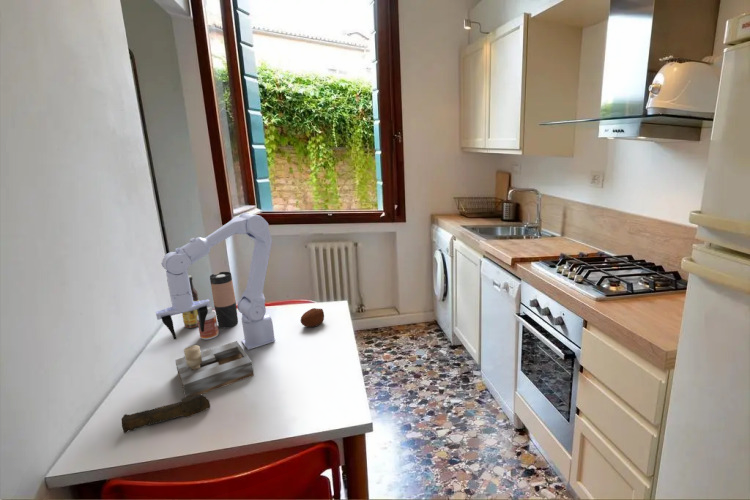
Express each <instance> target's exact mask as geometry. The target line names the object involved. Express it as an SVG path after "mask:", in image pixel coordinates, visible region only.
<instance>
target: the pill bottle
mask: <svg viewBox="0 0 750 500" xmlns="http://www.w3.org/2000/svg"><path fill="white" fill-rule="evenodd" d="M207 309H208V313H207V316H206V319H205V324H204V331H203V332H202V331H201V330H200V323H199V316H198V315H197V322H198V326H197V327H198V332H199V336H200V337H199V338H201V339H202V340H207V341H208V340H211V339H214V338H217V337H218V336H219V326H218V321H217V316H216V311H213V307H212V305H211V307H207Z"/></svg>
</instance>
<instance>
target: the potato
mask: <svg viewBox="0 0 750 500" xmlns="http://www.w3.org/2000/svg"><path fill="white" fill-rule="evenodd" d="M324 313H325V312H324V310H323V308H316V307H315V308H314V307H313V308H311V309H308V310H307V311H305V312H304V313H303V314H302V316H301V317H300V323H301V325H302V326H304V327H306V328H310V327H312V328H313V327H317V326H320V325H321V324H322V323H323V322H324V320H325V314H324Z"/></svg>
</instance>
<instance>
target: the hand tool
mask: <svg viewBox="0 0 750 500" xmlns="http://www.w3.org/2000/svg"><path fill="white" fill-rule="evenodd" d="M210 408H211V403H210V400H209V399H208V397H207V396H205V395H203V394H197V395H193V396H187V397H185V396H184V397H183V398H181V400H180V401H178V402H175V403H171V404H166V405H163V406H159V407H155V408H151V409H147V410H143V411H138V412H135V413H131V414H127V413H126V414H123V416H122V417H121V428H122V429H121V430H122V431H123V433H124V434H126V433H128V432H130V431H131V432H134V431H135V430H136V429H139V428H143V427H146V426H149V425H153V424H158V423H160V422H164V421H168V420H171V419H175V418H180V417H185V418H189V417H192V416H194V415H197V414H200V413H202V412H204V411H206V410H208V409H210Z"/></svg>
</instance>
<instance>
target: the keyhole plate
mask: <svg viewBox="0 0 750 500" xmlns="http://www.w3.org/2000/svg"><path fill="white" fill-rule="evenodd" d="M200 352H201V357H202V363H201V364H200V368H198V369H195V370H191V367H188V366H187V363H186V358H185V356H183V357H180V358H177V359H175V366H176V370H177V375H178V378H179V380H180V383H181V384H180V385H181V387H182V390H183V392H184V393H185V394H184V397H185V396H186V397H187V396H193V395H197V394H201V395H203V393H204V394H206V393H209V392H213V391H214V390H218V389H220V388H223V387H225V386H226V387H227V386H228V385H231V384H233V383H237V382H239V381H242V380H245V379H249V378H251V377H253V376H254V375H255V374H254V367H253V361H252V360H251V358H250V357H249V356H248V354H247V353H246V351H245V350H244V349H243V346H241V344H240V343H239V342H238V340H235V341H233V342H229V343H226V344H222V345H219V346H215V347H212V348H210V349H207V350H204V351H203V350H202V351H200Z"/></svg>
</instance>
